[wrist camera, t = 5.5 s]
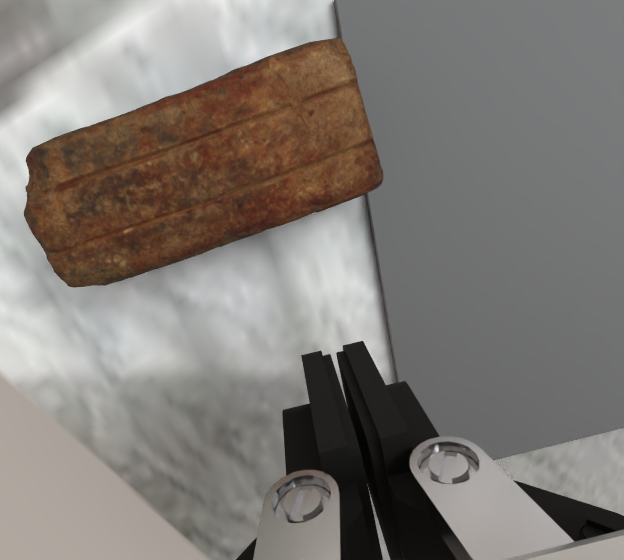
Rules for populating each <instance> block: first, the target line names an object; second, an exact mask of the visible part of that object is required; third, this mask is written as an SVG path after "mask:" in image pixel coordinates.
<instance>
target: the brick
mask: <svg viewBox="0 0 624 560" xmlns="http://www.w3.org/2000/svg"><path fill="white" fill-rule="evenodd" d="M26 163H27V166H28V169H29V175H30V176H29V183H28V185H27V186H26V192H27V198H28V199H27V203H26V208H25V210H24V216H25V219H26V221H27V223H28V225H29V227H30V229H31V231H32V233H33V235H34V236H35V238H36V239H37V240H38V242H39V243H40V244H41V246H42V248H43V249H44V251H45V253H46V256H47V259H48V261H49V262H50V264H51V265H52V267H53V270H54V272H55V273H56V274H57V275H58V276H59V277H60V278H61V279H62V280H63V281H64V282H65V283H66V284H67V285H68V286H70V287H85V286H91V285H107V284H111V283H114V282H118V281H122V280H125V279H127V278H131V277H134V276H137V275H140V274H142V273H145V272H148V271H150V270H153V269H157V268H160V267H163V266H166V265H169V264H172V263H175V262H178V261H181V260H184V259H187V258H190V257H193V256H196V255H199V254H202V253H204V252H207V251H209V250H211V249H214V248H216V247H221V246H223V245H226V244H228V243H231V242H233V241H236V240H240V239H243V238H246V237H249V236H252V235H255V234H257V233H260V232H262V231H264V230H266V229H270V228H273V227H277V226H280V225H283V224H286V223H289V222H291V221H294V220H297V219H300V218H302V217H304V216H307V215H309V214H311V213H314V212H320V211H322V210H325V209H328V208H331V207H333V206H336V205H338V204H341V203H343V202H346V201H349V200H352V199H354V198H357V197H360V196H362V195H364V194H366V193H369V192H371V191H373V190H374V189H376V188H378V187H379V186H380V185H381V184H382V181H383V170H382V167H381V164H380V159H379V156H378V153H377V149H376V146H375V143H374V139H373V136H372V132H371V128H370V125H369V121H368V118H367V115H366V111H365V107H364V103H363V99H362V96H361V92H360V89H359V85H358V81H357V75H356V71H355V67H354V66H353V64H352V59H351V56H350V54H349V53H348V50H347V48H346V46H345V44H344V43H343V41H342V39H340V38H335V39H328V40H321V41H315V42H309V43H306V44H303V45H300V46H297V47H294V48H291V49H288V50H285V51H283V52H280V53H277V54H274V55H271V56H268V57H266V58H263V59H261V60H259V61H256V62H254V63H252V64H250V65H247V66H244V67H240V68H237V69H234V70H232V71H230V72H229V73H227V74H225V75H223V76H221V77H218V78H216V79H214V80H211V81H208V82H206V83H203V84H201V85H199V86H196V87H194V88H192V89H190V90H187V91H184V92H181V93H179V94H175V95H171V96H168V97H165V98H162V99H160V100H158V101H156V102H153V103H151V104H148V105H145V106H143V107H140V108H138V109H136V110H133V111H131V112H128V113H125V114H122V115H120V116H117V117H114V118H111V119H108V120H105V121H102V122H99V123H96V124H94V125H91V126H88V127H84V128H80V129H78V130H75V131H72V132H69V133H66V134H63V135H60V136H58V137H55V138H53V139H51V140H49V141H47V142H44V143H42V144H40V145H38V146H36V147H33V148H32V150H31V151H30V153H29V154H28V155H27V158H26Z"/></svg>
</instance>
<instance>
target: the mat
mask: <svg viewBox="0 0 624 560" xmlns="http://www.w3.org/2000/svg"><path fill="white" fill-rule="evenodd" d="M334 4H335V10H336V16H337V22H338V28H339V34H340V39H342V41H343V43H344V44H345V46H346V48H347V50H348V53H349V54H350V56H351V59H352V64H353V66H354V67H355V71H356V75H357V81H358V85H359V89H360V92H361V96H362V99H363V103H364V107H365V111H366V115H367V118H368V121H369V125H370V128H371V132H372V136H373V139H374V143H375V146H376V149H377V153H378V156H379V159H380V164H381V167H382V170H383V181H382V184H381V185H380V186H379V187H378V188H376V189H374V190H373V191H371V192H369V193H366V197H367V203H368V209H369V215H370V221H371V227H372V233H373V239H374V245H375V251H376V257H377V263H378V269H379V276H380V282H381V288H382V294H383V300H384V306H385V312H386V318H387V324H388V330H389V336H390V342H391V348H392V354H393V360H394V366H395V372H396V378H397V383H398V382H402V381H406V382H407V384H408V385H409V387H410V388H411V390H412V392H413V393H414V395H415V397H416V398H417V400H418V401H419V403H420V405H421V406H422V408H423V410H424V411H425V413H426V415H427V416H428V418H429V419H430V421H431V423H432V424H433V426H434V428H435V429H436V431H437V432H438V434H439V436H440V437H447V436H452V437H457V438H463V439H465V440H468V441H470V442H473V443H474V444H475V445H477V446H478V447H480V448H481V449H482V450H483V451H484V452H485V453H486V454H487V455H488V456H489V457H490V458H491V459H492V460H496V459H500V458H504V457H508V456H512V455H516V454H520V453H524V452H528V451H532V450H536V449H540V448H544V447H548V446H552V445H556V444H560V443H564V442H568V441H573V440H577V439H581V438H585V437H589V436H593V435H597V434H601V433H605V432H609V431H613V430H617V429H621V428H624V0H334Z"/></svg>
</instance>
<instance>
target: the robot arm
mask: <svg viewBox="0 0 624 560" xmlns="http://www.w3.org/2000/svg"><path fill="white" fill-rule="evenodd" d="M336 354H337V359H338V364H339V369H340V374H341V378H342V383H343V388H344V393H345V398H346V402H347V405H346V402H345V399H344V396H343V392H342V389H341V386H340V383H339V380H338V377H337V374H336V371H335V367H334V364H333V361H332V358H331V355H330V354H329V355H324V356H323V355H322V352H321V351H318V352H314V353H309V354H305V355H302V361H303V367H304V373H305V378H306V384H307V390H308V395H309V401H310V404H306V405H302V406H297V407H293V408H289V409H285V410H283V429H284V444H285V460H286V475H287V476H285V477H283V478H281V479H280V480H279V481H278V482H276V483H275V484H274V485H273V486H272V488H271V489H270V490H269V492H268V493H267V495H266V498H265V501H264V504H263V509H262V515H261V520H260V525H259V531H258V536H257V538H256V539H255V540H254V541H253V542H252V543H251V544H250V545H249V546H248V547H247V548H246V550H245V551H244V552H243V553H242V554H241V555H240V556H239V557H238V558H237V559H236V560H383V558H382V553H381V548H380V544H379V539H378V534H377V529H376V524H375V519H374V514H373V510H372V505H371V500H370V495H369V491H370V494H371V497H372V501H373V504H374V507H375V511H376V514H377V517H378V520H379V524H380V527H381V530H382V533H383V537H384V540H385V543H386V546H387V550H388V553H389V556H390V559H391V560H624V516H622V515H620V514H618V513H615V512H612V511H609V510H606V509H602V508H599V507H596V506H593V505H590V504H587V503H583V502H580V501H577V500H574V499H571V498H568V497H565V496H561V495H558V494H555V493H552V492H549V491H546V490H543V489H539V488H536V487H533V486H530V485H527V484H524V483H521V482H517V481H514V480H512V479H511V478H510V477H509V476H508V475H507V474H506V473H505V472H504V471H503V470H502V469H501V468H500V467H499V466H498V465H497V464H496V463H495V462H494V461H493V460H492V459H491V458H490V457H489V456H488V455H487V454H486V453H485V452H484V451H483V450H482V449H481V448H480V447H478V446H477V445H475V444H474V443H473V442H470V441H468V440H465V439H463V438H457V437H452V436H447V437H440V436H439V434H438V432H437V431H436V429H435V428H434V426H433V424H432V423H431V421H430V419H429V418H428V416H427V415H426V413H425V411H424V410H423V408H422V406H421V405H420V403H419V401H418V400H417V398H416V397H415V395H414V393H413V392H412V390H411V388H410V387H409V385H408V384H407V382H406V381H402V382H398V383H394V384H390V385H385V383H384V381H383V379H382V377H381V375H380V373H379V371H378V369H377V367H376V365H375V364H374V362H373V360H372V358H371V356H370V354H369V352H368V350H367V348H366V346H365V344H364V342H363V341H361V342H356V343H352V344H348V345H343V351H342V352H337V353H336ZM347 407H348V408H347ZM367 484H368V485H367ZM368 488H369V490H368Z"/></svg>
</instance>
